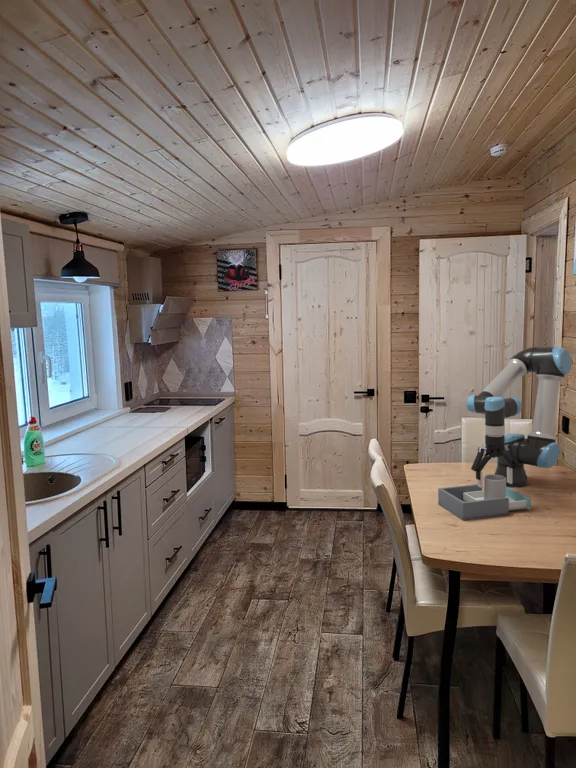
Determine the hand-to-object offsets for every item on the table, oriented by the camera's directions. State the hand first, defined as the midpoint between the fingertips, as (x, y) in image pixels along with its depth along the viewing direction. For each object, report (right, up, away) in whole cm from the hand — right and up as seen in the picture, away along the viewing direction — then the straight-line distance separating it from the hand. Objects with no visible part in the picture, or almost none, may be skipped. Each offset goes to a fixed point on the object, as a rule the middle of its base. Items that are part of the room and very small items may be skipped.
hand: (495, 485), depth 229 cm
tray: (0, -8, +1) cm, 8 cm away
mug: (+1, -7, +1) cm, 7 cm away
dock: (-10, -10, -1) cm, 14 cm away
